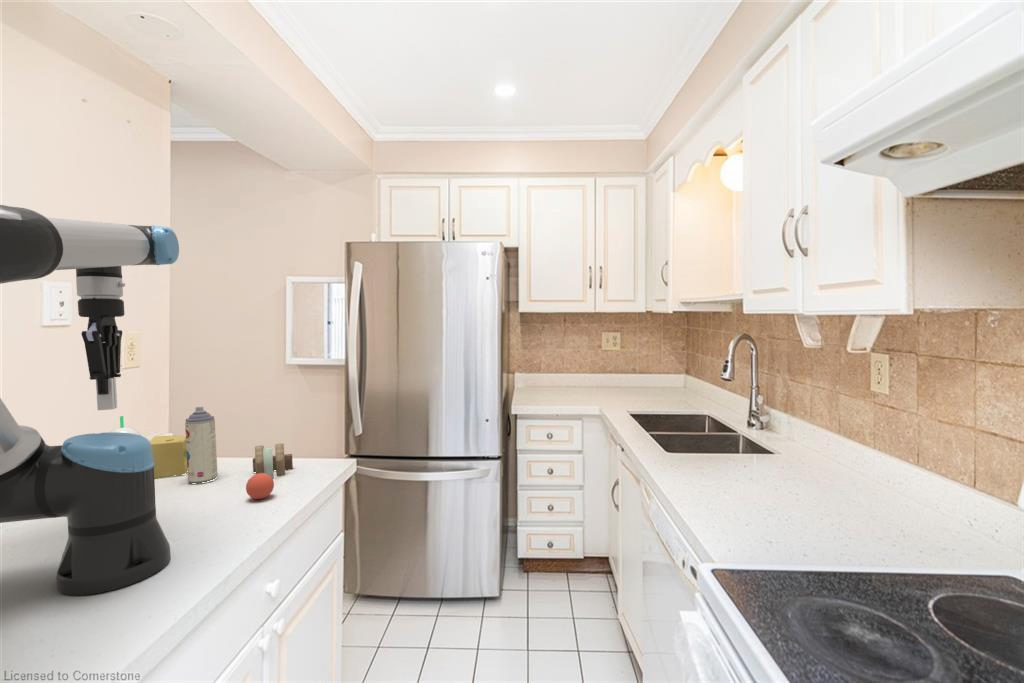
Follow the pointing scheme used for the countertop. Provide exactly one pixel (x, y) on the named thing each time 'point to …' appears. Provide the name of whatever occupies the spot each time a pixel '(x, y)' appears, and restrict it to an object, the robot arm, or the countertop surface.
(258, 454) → the pin
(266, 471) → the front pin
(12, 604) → the countertop surface
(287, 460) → the back wall
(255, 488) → the ball
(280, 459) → the pin
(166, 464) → the yellow box
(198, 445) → the aerosol can
